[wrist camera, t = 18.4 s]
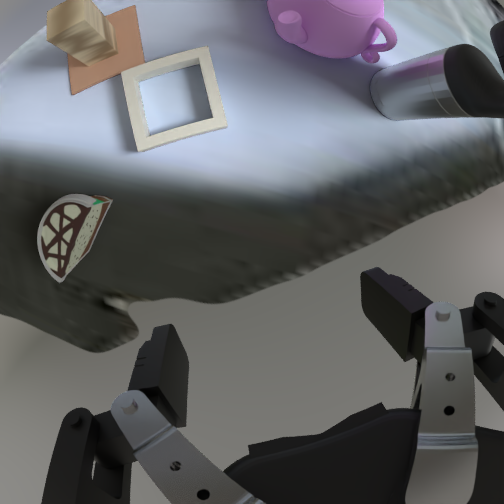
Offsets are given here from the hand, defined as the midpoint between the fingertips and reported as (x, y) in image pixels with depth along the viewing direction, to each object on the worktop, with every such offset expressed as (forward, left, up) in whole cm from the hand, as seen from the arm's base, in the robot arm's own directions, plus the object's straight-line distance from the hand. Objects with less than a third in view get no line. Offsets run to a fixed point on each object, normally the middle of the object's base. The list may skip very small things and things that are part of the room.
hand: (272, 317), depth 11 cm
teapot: (-18, -25, -30) cm, 43 cm away
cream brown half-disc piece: (+22, -4, -30) cm, 38 cm away
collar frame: (+4, -16, -30) cm, 34 cm away
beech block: (+13, -29, -30) cm, 43 cm away
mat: (+13, -29, -30) cm, 44 cm away
